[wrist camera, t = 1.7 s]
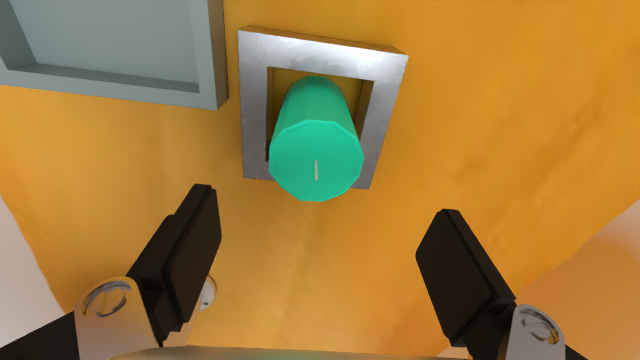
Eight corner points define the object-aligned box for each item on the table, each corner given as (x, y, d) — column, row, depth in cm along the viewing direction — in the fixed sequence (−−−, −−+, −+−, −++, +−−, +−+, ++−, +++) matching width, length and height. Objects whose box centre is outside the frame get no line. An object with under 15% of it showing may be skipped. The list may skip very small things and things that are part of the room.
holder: (362, 168, 28) (368, 189, 25) (251, 156, 27) (243, 177, 24) (394, 47, 22) (408, 55, 18) (249, 25, 21) (237, 30, 17)
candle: (319, 59, 22) (325, 105, 12) (358, 112, 25) (389, 184, 15) (269, 103, 24) (240, 173, 14) (311, 147, 27) (309, 231, 17)
